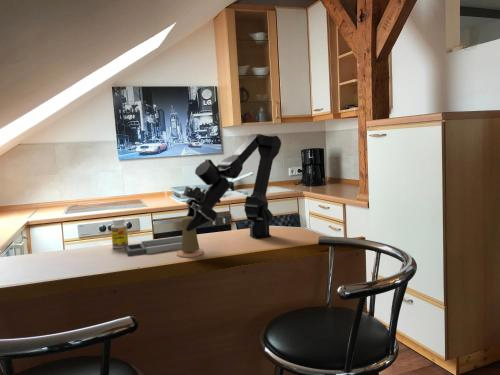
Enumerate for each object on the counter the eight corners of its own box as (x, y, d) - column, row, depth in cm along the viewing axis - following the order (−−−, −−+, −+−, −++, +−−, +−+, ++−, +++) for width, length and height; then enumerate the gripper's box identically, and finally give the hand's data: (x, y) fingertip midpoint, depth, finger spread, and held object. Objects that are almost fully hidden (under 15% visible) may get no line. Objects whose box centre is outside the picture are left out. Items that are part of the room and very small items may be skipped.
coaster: (199, 248, 145) (199, 246, 144) (207, 254, 136) (207, 252, 136) (173, 252, 141) (173, 250, 141) (180, 258, 133) (180, 257, 133)
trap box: (142, 247, 150) (142, 243, 150) (146, 253, 141) (146, 248, 141) (125, 249, 147) (124, 245, 147) (128, 255, 139) (128, 251, 139)
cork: (198, 251, 136) (195, 218, 134) (179, 252, 136) (177, 219, 134) (200, 246, 142) (198, 214, 140) (182, 247, 142) (180, 215, 140)
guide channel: (185, 240, 157) (184, 235, 157) (192, 247, 147) (192, 241, 146) (141, 246, 151) (141, 241, 150) (147, 253, 141) (146, 248, 140)
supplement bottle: (110, 249, 149) (108, 221, 148) (115, 245, 155) (112, 218, 153) (126, 248, 149) (124, 220, 148) (130, 244, 155) (128, 217, 154)
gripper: (189, 175, 146) (160, 209, 143) (205, 179, 129) (173, 218, 126) (212, 195, 150) (184, 229, 147) (230, 201, 133) (199, 240, 130)
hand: (185, 228), depth 137 cm, fingers closed on cork, 5 cm apart
